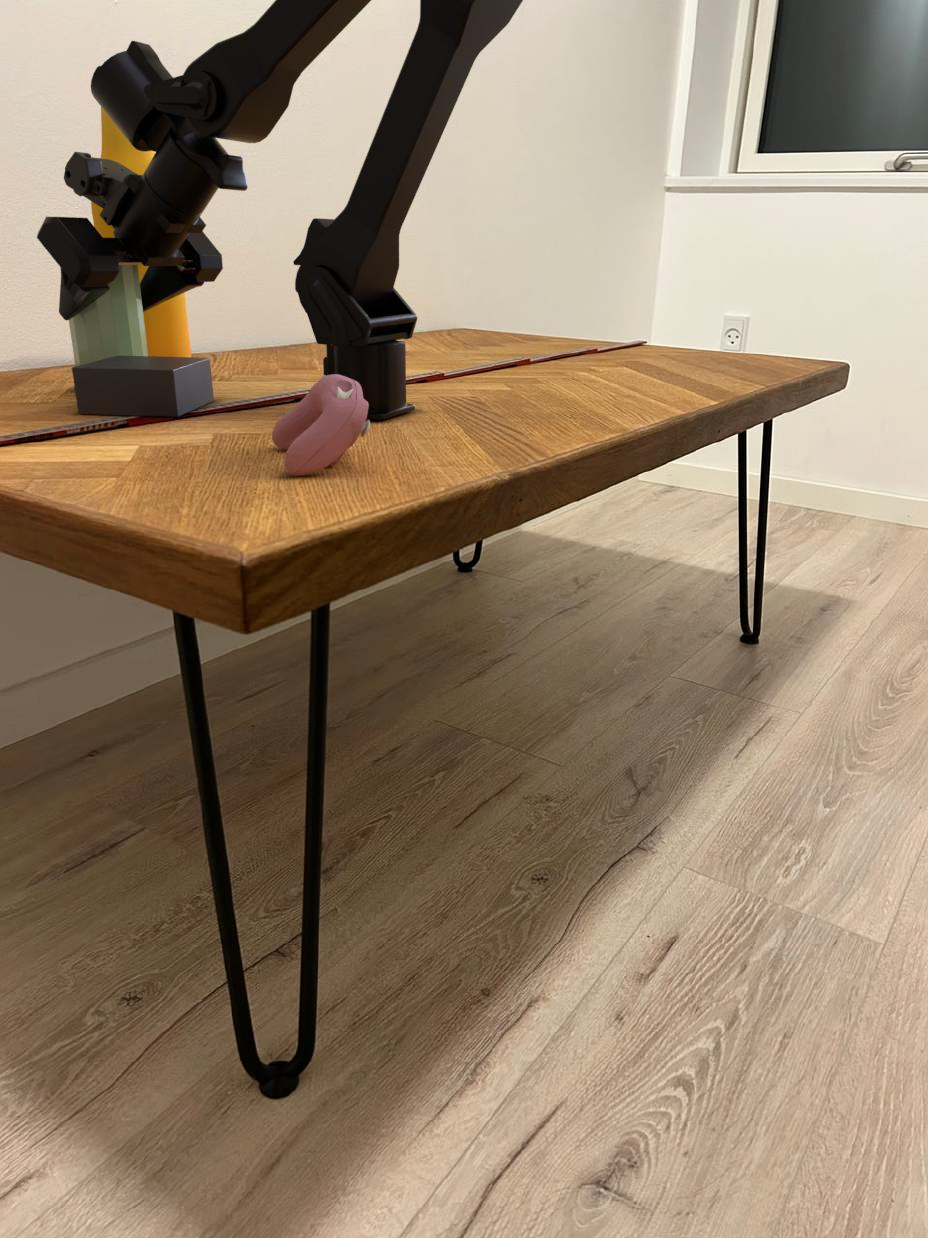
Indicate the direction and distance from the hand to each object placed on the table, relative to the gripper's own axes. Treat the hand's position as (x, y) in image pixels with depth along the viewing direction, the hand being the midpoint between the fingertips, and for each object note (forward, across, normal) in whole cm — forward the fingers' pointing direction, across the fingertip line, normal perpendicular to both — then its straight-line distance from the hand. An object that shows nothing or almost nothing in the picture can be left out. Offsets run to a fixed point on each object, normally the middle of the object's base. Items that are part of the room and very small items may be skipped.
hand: (99, 313), depth 91 cm
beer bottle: (+11, -15, 0) cm, 19 cm away
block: (-3, +7, +14) cm, 16 cm away
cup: (+4, 0, +6) cm, 7 cm away
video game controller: (-22, +18, +32) cm, 43 cm away
